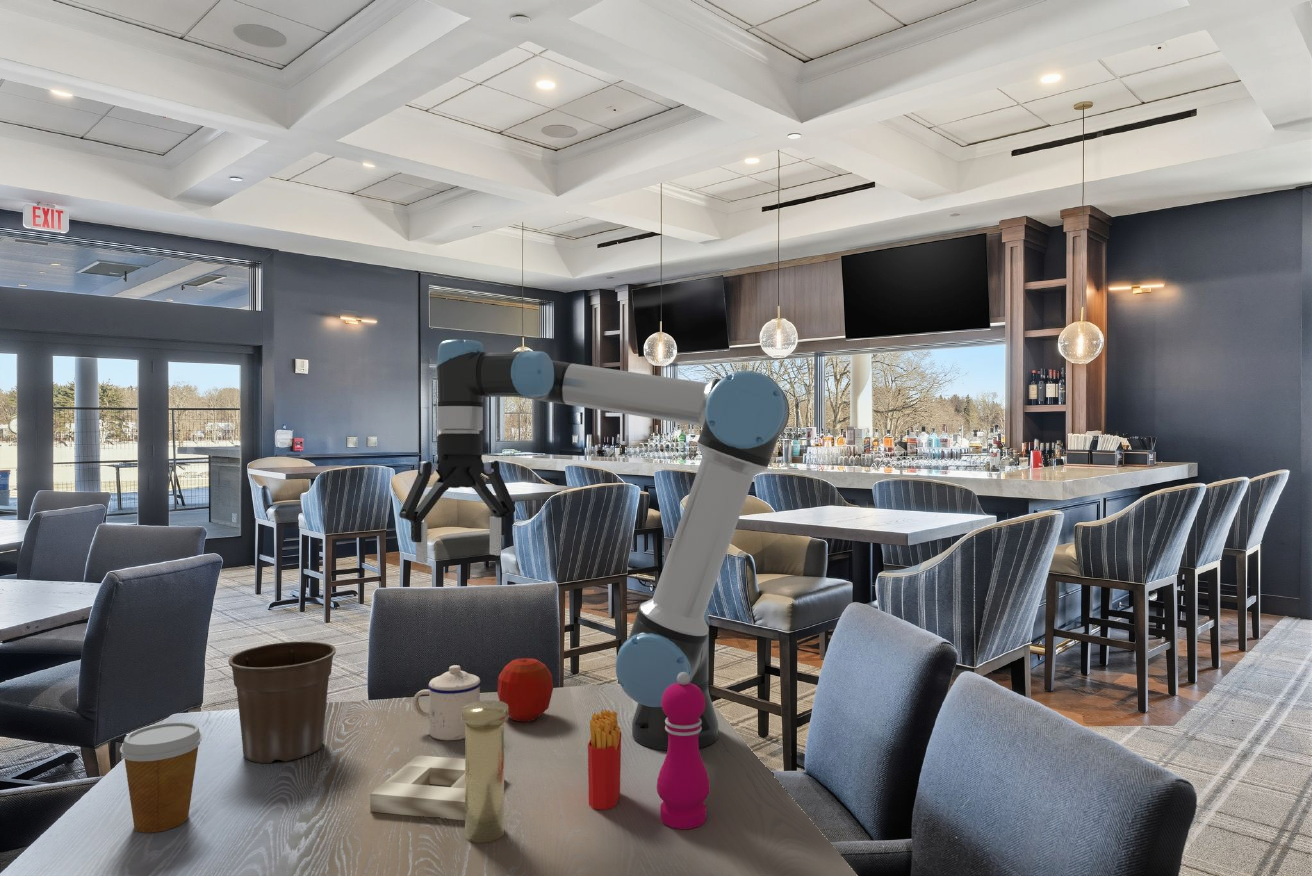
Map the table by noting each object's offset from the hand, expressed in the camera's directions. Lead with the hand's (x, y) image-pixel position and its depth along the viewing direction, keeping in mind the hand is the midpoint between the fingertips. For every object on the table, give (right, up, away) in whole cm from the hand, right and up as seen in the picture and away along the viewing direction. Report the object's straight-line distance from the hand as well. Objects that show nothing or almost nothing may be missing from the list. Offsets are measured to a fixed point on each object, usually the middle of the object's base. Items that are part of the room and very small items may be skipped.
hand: (459, 558), depth 137 cm
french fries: (+26, -32, -20) cm, 46 cm away
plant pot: (-29, -32, -2) cm, 43 cm away
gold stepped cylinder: (+11, -32, -30) cm, 45 cm away
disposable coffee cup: (-33, -32, -28) cm, 54 cm away
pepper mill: (+37, -32, -26) cm, 55 cm away
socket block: (+2, -32, -19) cm, 37 cm away
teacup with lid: (-4, -32, +7) cm, 33 cm away
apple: (+9, -32, +15) cm, 36 cm away
